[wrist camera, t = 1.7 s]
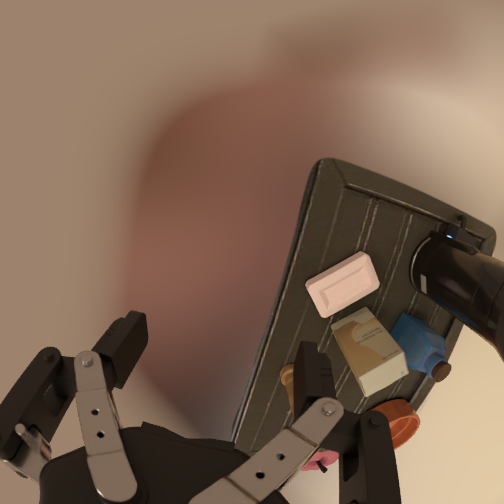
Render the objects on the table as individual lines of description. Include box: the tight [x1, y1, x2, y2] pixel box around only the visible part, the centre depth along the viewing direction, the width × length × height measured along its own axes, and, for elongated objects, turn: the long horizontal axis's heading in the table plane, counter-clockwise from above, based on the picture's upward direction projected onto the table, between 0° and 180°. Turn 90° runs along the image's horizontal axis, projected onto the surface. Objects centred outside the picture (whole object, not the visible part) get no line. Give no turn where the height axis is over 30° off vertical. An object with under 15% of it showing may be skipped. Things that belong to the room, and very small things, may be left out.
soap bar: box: [305, 251, 380, 318], centre depth 35 cm, size 5×9×2 cm, turn 119°
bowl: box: [371, 399, 420, 450], centre depth 43 cm, size 13×13×6 cm
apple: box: [301, 448, 339, 473], centre depth 40 cm, size 10×9×10 cm
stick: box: [280, 364, 294, 419], centre depth 33 cm, size 4×4×14 cm
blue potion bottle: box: [390, 312, 451, 382], centre depth 34 cm, size 6×6×12 cm
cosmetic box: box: [331, 307, 408, 397], centre depth 33 cm, size 6×4×12 cm
